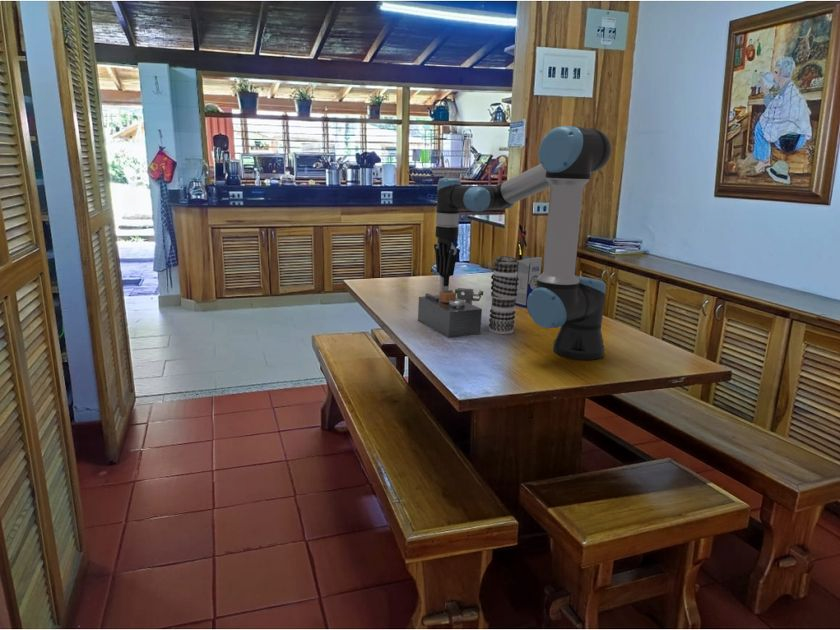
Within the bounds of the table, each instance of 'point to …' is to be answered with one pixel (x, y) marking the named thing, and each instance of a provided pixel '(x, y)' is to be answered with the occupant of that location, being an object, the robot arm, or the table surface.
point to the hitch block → (449, 317)
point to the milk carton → (527, 278)
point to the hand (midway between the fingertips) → (443, 294)
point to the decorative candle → (503, 295)
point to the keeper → (447, 296)
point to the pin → (456, 303)
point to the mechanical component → (468, 295)
